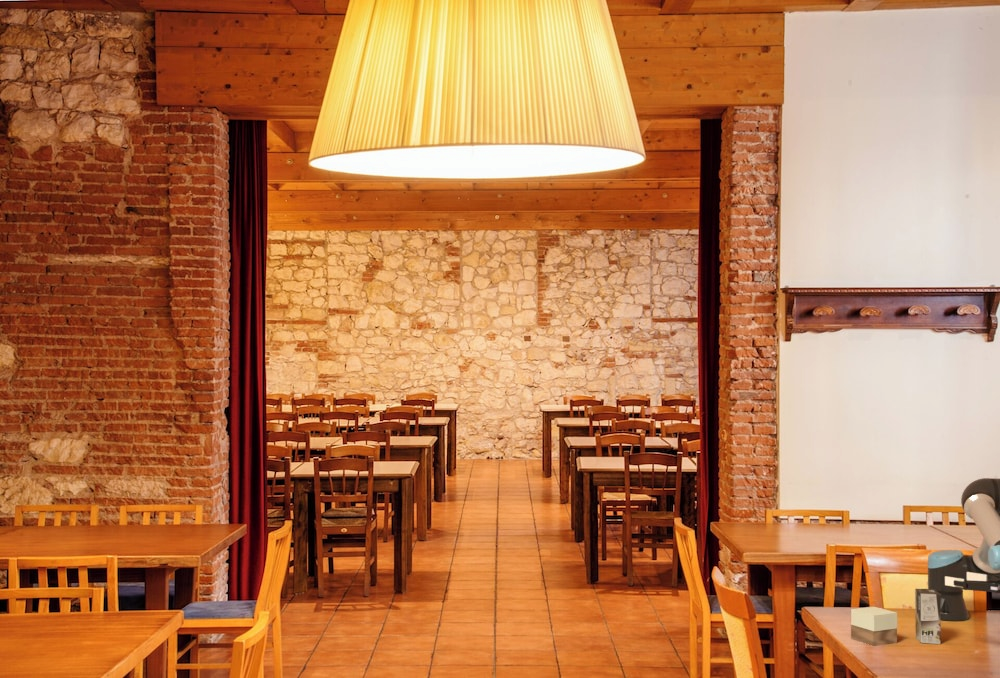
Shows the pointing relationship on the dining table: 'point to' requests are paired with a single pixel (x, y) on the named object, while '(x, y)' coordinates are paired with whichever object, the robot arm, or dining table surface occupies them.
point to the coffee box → (928, 616)
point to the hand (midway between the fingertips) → (956, 578)
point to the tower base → (874, 636)
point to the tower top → (874, 618)
